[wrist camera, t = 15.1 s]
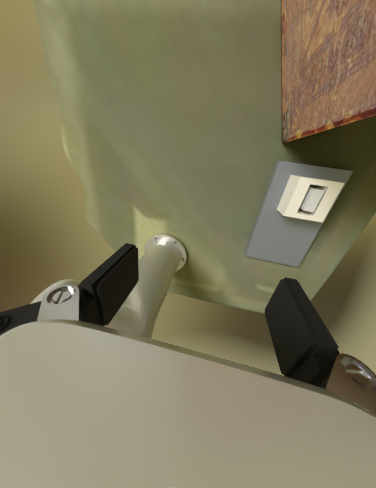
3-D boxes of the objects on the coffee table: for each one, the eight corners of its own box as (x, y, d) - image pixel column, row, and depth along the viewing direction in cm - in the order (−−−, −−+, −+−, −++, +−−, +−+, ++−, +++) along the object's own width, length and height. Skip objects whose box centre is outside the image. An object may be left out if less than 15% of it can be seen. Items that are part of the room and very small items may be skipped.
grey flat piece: (295, 263, 41) (307, 280, 35) (244, 253, 42) (247, 267, 37) (347, 170, 30) (376, 173, 25) (277, 160, 32) (289, 160, 26)
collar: (311, 215, 34) (322, 222, 30) (276, 209, 35) (283, 215, 31) (329, 180, 30) (344, 183, 27) (290, 174, 31) (300, 176, 27)
